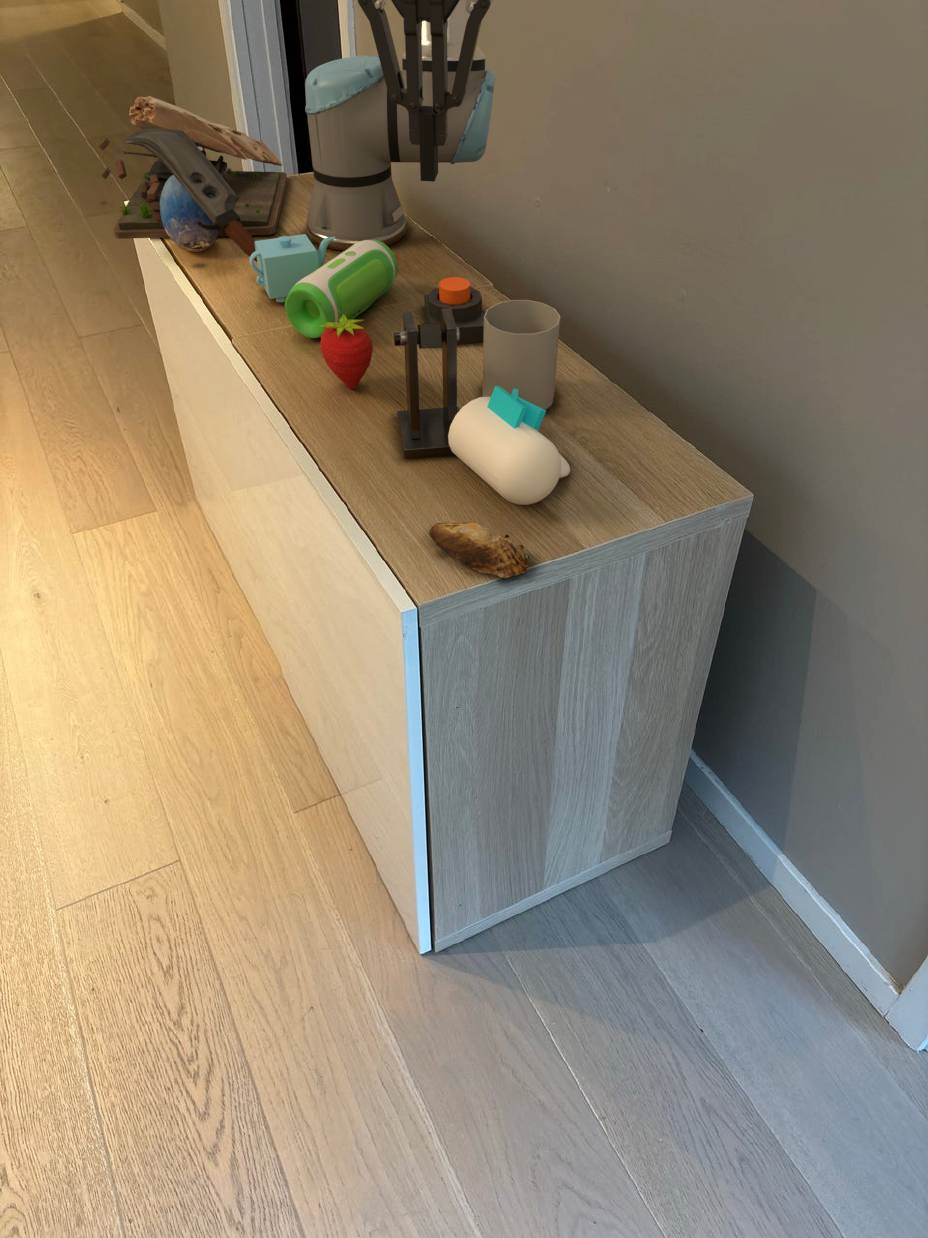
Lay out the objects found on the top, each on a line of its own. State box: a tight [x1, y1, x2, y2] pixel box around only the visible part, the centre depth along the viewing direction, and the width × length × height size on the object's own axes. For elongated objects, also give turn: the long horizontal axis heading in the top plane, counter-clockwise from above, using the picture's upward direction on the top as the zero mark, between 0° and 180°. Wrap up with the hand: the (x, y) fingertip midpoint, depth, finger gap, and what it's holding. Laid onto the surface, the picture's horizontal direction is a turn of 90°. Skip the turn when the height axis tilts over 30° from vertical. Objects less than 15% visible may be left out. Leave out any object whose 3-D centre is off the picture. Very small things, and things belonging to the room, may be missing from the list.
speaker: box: [284, 240, 399, 339], centre depth 122 cm, size 18×7×8 cm, turn 153°
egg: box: [160, 175, 218, 267], centre depth 137 cm, size 9×9×15 cm
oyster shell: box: [428, 522, 530, 579], centre depth 88 cm, size 6×4×10 cm
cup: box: [481, 299, 561, 411], centre depth 106 cm, size 8×8×10 cm
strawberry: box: [318, 308, 374, 390], centre depth 107 cm, size 6×8×10 cm
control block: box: [423, 286, 485, 344], centre depth 121 cm, size 10×7×4 cm
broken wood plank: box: [128, 95, 283, 167], centre depth 149 cm, size 28×12×5 cm, turn 129°
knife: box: [123, 128, 258, 263], centre depth 132 cm, size 9×2×30 cm
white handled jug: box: [448, 386, 571, 506], centre depth 95 cm, size 12×9×12 cm
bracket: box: [396, 308, 461, 460], centre depth 99 cm, size 8×7×14 cm
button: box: [438, 276, 471, 304], centre depth 119 cm, size 4×4×2 cm
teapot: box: [248, 233, 335, 303], centre depth 127 cm, size 12×6×8 cm, turn 111°
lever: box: [393, 322, 443, 350], centre depth 100 cm, size 14×6×2 cm, turn 8°
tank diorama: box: [98, 137, 288, 240], centre depth 148 cm, size 28×25×11 cm
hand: (429, 176), depth 99 cm, fingers closed
